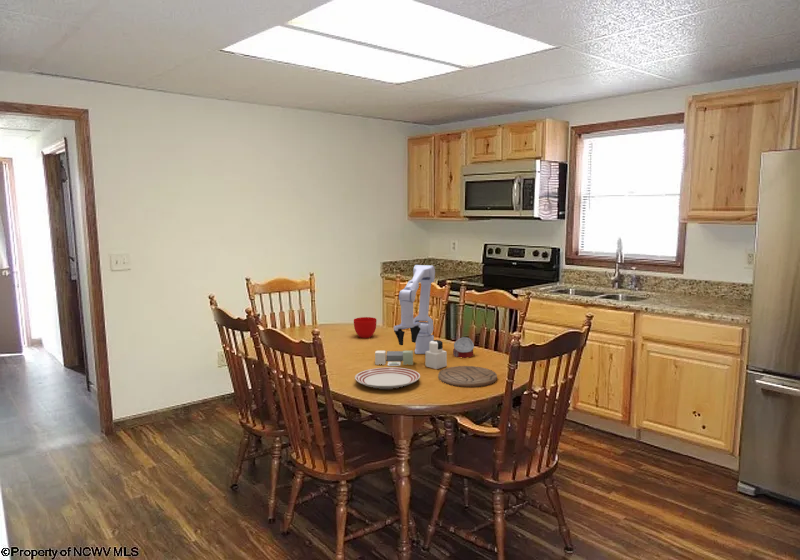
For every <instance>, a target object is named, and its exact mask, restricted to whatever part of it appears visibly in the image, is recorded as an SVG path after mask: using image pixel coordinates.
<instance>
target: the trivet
mask: <svg viewBox="0 0 800 560" xmlns="http://www.w3.org/2000/svg"><path fill="white" fill-rule="evenodd" d="M437 375H438V376H437V378H438V381H440V380H441V381H442V382H441V381H440V382H441V383H443V382H444V383H443V384H445V383H446V385H448V384H449V385H448V386H452V385H453V386H452V387H458V386H459V387H460V388H481V386H482V387H487V386H490V384H491V385H493V384H495V383H496V382H497V381H496V380H497V379H498V378H497V376H498V374H497V373H496V372H495V371H493V370H492V369H488V368H485V367H481V366H473V365H457V366H451V367H446V368H443V369H440V371H439V372H438V374H437ZM495 381H496V382H495ZM494 382H495V383H494ZM492 383H493V384H492ZM459 387H458V388H459Z"/></svg>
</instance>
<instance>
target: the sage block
mask: <svg viewBox="0 0 800 560" xmlns="http://www.w3.org/2000/svg"><path fill="white" fill-rule="evenodd" d="M402 351H403V361H402V365H405V366H409V365H410V366H413V365H414V350H402ZM407 364H408V365H407Z"/></svg>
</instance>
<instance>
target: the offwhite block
mask: <svg viewBox="0 0 800 560" xmlns="http://www.w3.org/2000/svg"><path fill="white" fill-rule="evenodd" d="M386 355H387V351H386V350H375V352H374V358H375V359H374V360H375V361H374V363H375V364H374V365H377V366H378V365H379V364H380V366H381V364H382V365H383V366H385V365H386Z"/></svg>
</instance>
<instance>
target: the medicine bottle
mask: <svg viewBox="0 0 800 560" xmlns="http://www.w3.org/2000/svg"><path fill="white" fill-rule="evenodd" d="M443 347H444V345H443V341H442V340H439V339H434V340H432V341H430V342H429V351H426V352H425V354H424V355H425V356H424V357H425V360H424V361H425V367H426V368H431V369H434V370H438V369H442V368H445V367H446V368H447V366H448V364H447V363H448V362H447V355H448V353H447V351H446V350H444V348H443Z"/></svg>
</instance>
